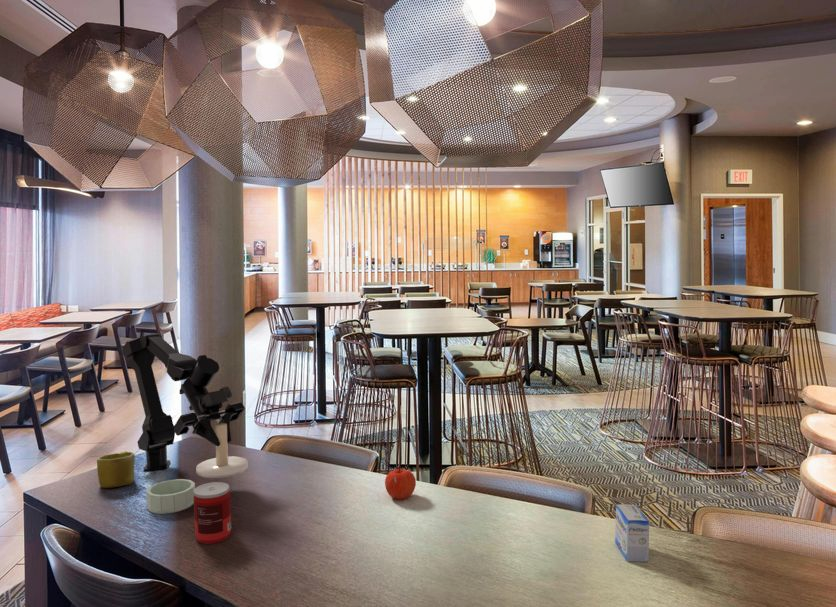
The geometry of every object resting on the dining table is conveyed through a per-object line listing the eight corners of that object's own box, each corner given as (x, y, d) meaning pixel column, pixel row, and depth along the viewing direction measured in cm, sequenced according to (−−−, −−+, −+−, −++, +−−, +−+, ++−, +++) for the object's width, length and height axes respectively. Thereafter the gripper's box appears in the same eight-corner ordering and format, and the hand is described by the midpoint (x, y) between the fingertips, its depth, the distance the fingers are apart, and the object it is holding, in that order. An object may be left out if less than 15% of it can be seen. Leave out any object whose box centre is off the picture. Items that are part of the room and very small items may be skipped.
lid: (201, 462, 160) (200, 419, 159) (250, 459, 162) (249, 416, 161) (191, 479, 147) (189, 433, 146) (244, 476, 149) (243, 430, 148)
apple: (409, 505, 145) (408, 474, 145) (379, 500, 148) (379, 470, 148) (420, 493, 153) (420, 463, 152) (392, 489, 156) (392, 459, 155)
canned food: (221, 525, 136) (219, 479, 135) (238, 536, 130) (236, 488, 129) (189, 536, 130) (187, 488, 129) (204, 548, 125) (202, 498, 124)
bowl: (152, 498, 151) (151, 481, 151) (197, 493, 154) (196, 477, 154) (143, 516, 141) (142, 498, 141) (191, 510, 143) (191, 493, 143)
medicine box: (614, 543, 124) (615, 503, 124) (635, 543, 124) (636, 503, 124) (626, 562, 117) (627, 520, 116) (649, 562, 116) (650, 520, 116)
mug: (128, 484, 156) (119, 448, 157) (93, 496, 156) (84, 460, 158) (152, 477, 168) (144, 443, 170) (120, 487, 169) (111, 454, 170)
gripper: (177, 384, 148) (204, 434, 142) (240, 373, 163) (266, 418, 157) (162, 410, 153) (187, 459, 147) (224, 397, 168) (249, 441, 162)
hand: (224, 443), depth 153 cm, fingers closed on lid, 3 cm apart
